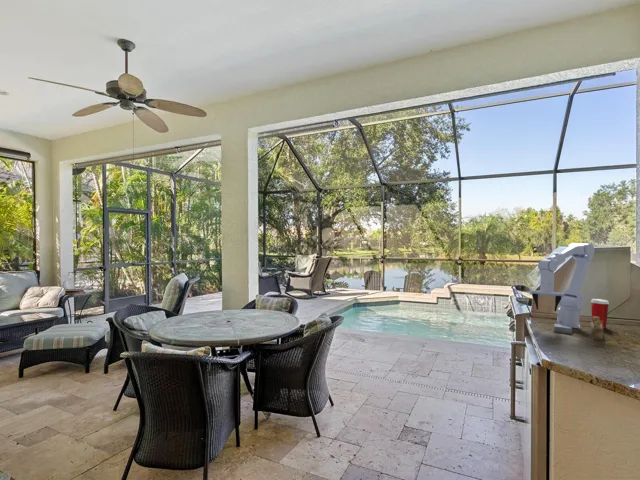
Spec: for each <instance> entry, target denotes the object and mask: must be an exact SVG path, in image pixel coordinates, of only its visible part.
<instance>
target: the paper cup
mask: <svg viewBox="0 0 640 480" xmlns="http://www.w3.org/2000/svg"><path fill="white" fill-rule="evenodd" d="M590 305H591V306H590V307H591V322H593V316H596V317H599V322H601V324H602V328H603V329H607V322H608V315H609V314H608V311H609V305H610V303H609V300H607V299H602V298H591V300H590Z"/></svg>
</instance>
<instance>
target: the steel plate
mask: <svg viewBox="0 0 640 480" xmlns="http://www.w3.org/2000/svg"><path fill="white" fill-rule="evenodd" d="M553 325H554V326H553V330H554V331H553V332H554V333H561V334H569V335H573V328H572V326H570V325H562V324H558V323H555V322H554V324H553Z"/></svg>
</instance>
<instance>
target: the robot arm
mask: <svg viewBox="0 0 640 480" xmlns="http://www.w3.org/2000/svg"><path fill="white" fill-rule="evenodd" d="M595 249H596V248H595V247H594V245H593V244H592V243H582V242H581V243H579V242H578V243H577V242H571V243H569V244H567V247H566V248H565V249H564V250H562V251H561V252H556V251H555V252H554V253H553V254H552V255H550V256H548V257H547V258H546V259H544V258H543V259H541V260H539V262H538V264H537V268H538V270H539V274H540V277H539V278H540V282H539V284H540V285H539V290H536V289H535V290H531V289H530V290H529V295H532V299H533V301H534V304H535V308H536V310H539V296H545V297H546V296H547V297H555V298H554V299H555V301H554V312H557V317H556V318H557V319H556V322H557V324H562V325H570V326H572V329H581V325H580V311H582V309H584V307H585V298H586V297H585V296H584V295H583V294H582V293H581V292H582V289H583V286H584V283H585V280H586V277H587V275H588V274H587V273H588V271H589V268H590V265H591V262H592V260H593V258H594V255H595V253H596V250H595ZM569 257H572V259H574V260H576V265H575V267H574V271H573V274H572V277H571V280H570V283H569V286H568V289H566V290H563V291H562V292H557V291H554V290H555V289H554V287H555V272H556V271H557V269H558V268H559V266H560V265H562V264H564V263H565V262H566V259H568V258H569ZM558 306H560V307H558Z"/></svg>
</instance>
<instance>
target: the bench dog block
mask: <svg viewBox="0 0 640 480" xmlns="http://www.w3.org/2000/svg"><path fill="white" fill-rule="evenodd" d="M589 330H590V337H591V338H590V339H591V340H597V341H601V342H602V341H603V340H604V339H603V338H604V328H602V324H601V322H599V317H596V316H593V322H592V321H590V329H589Z"/></svg>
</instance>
